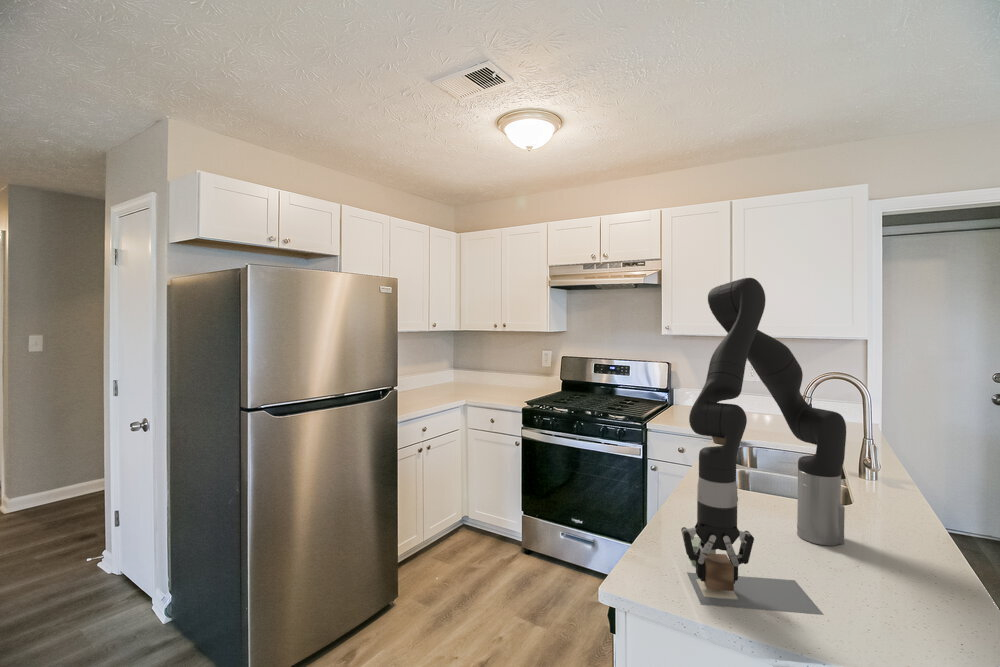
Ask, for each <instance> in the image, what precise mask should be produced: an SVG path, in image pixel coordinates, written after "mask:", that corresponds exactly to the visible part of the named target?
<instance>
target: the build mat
mask: <svg viewBox="0 0 1000 667" xmlns="http://www.w3.org/2000/svg"><path fill="white" fill-rule="evenodd" d="M686 574H687V576H688V578H689V581H690V582H691V585H692V587H693V589H694V592H695V594H696V596H697V598H698V601H699V603H700V605H701V606H712V607H713V606H714V607H725V608H726V607H727V608H737V609H747V610H748V609H749V610H750V609H751V610H761V611H773V612H774V611H775V612H783V613H784V612H786V613H797V614H798V613H799V614H810V615H811V614H812V615H825V614H824V613H823V612H822V611H821V610H820V608H819V607H818V606H817V604H816V603H815V602H814V601H813V600H812V599H811V597H809V595H808V593H806V591H804V590H803V588H802V587H801V586H800V585H799V583H798V582H797V581H796V579H785V578H784V579H783V578H768V577H757V576H756V577H755V576H741V575H738V580H737V581H735V584H734V591H726V590H712V589H707V587H706V585H705V583H704V581H701V580H700V578H698V576H697V574H696V572H689V571H688V572H686Z"/></svg>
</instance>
